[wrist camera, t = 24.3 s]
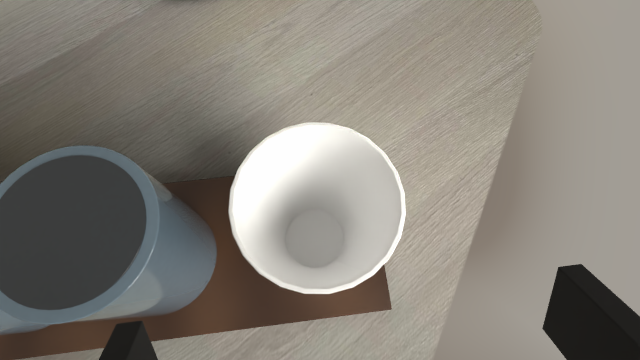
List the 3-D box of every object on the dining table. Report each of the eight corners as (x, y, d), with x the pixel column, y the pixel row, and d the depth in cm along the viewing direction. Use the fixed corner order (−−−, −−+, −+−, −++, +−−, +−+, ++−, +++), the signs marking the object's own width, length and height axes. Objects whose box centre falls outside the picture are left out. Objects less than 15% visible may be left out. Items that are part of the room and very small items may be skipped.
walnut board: (364, 166, 39) (366, 161, 38) (388, 309, 35) (391, 309, 34) (-12, 207, 37) (-25, 203, 35) (-35, 365, 33) (-51, 368, 31)
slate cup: (235, 228, 35) (191, 182, 22) (182, 335, 32) (93, 357, 19) (141, 187, 36) (43, 119, 23) (81, 287, 33) (-72, 277, 20)
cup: (325, 164, 38) (333, 92, 25) (394, 249, 35) (443, 219, 22) (235, 227, 35) (193, 184, 22) (302, 323, 33) (298, 336, 20)
